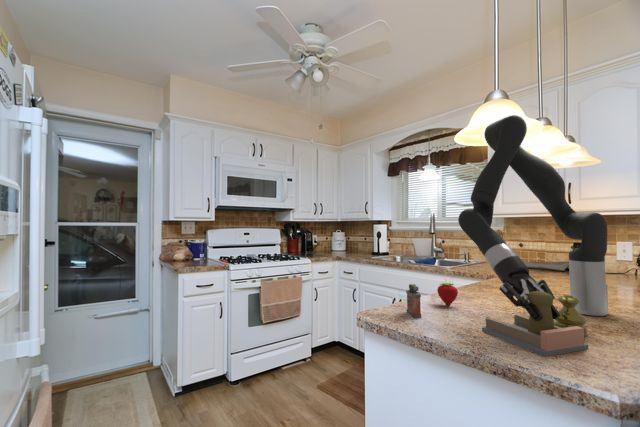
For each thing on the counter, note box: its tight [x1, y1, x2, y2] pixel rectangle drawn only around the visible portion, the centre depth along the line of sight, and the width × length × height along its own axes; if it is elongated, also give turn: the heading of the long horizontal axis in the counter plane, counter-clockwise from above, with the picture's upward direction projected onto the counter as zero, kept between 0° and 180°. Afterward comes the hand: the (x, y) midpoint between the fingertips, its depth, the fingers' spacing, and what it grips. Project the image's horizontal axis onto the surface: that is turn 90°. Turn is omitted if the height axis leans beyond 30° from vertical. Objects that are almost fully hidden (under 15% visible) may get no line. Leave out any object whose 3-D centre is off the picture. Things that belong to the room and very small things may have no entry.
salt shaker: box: [553, 294, 588, 337], centre depth 87 cm, size 7×7×10 cm
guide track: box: [481, 314, 590, 357], centre depth 82 cm, size 14×18×5 cm
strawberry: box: [436, 278, 459, 307], centre depth 116 cm, size 6×8×10 cm
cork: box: [528, 291, 555, 336], centre depth 79 cm, size 6×6×11 cm
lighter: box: [405, 283, 422, 319], centre depth 106 cm, size 8×3×10 cm, turn 5°
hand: (548, 318), depth 78 cm, fingers closed on cork, 4 cm apart
